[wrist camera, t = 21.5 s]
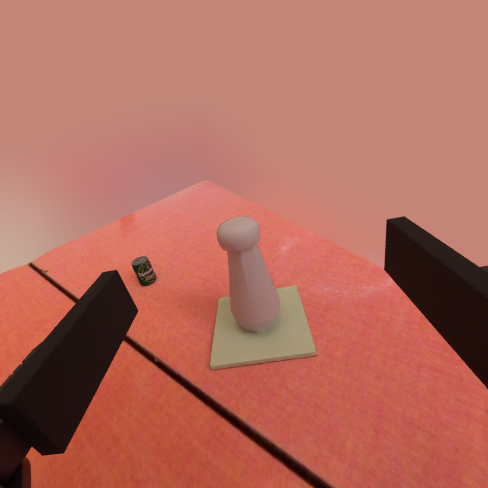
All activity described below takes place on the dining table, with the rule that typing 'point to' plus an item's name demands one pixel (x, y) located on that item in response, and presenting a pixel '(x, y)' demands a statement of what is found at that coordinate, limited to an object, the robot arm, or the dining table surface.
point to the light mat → (262, 335)
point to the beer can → (143, 270)
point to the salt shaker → (248, 275)
